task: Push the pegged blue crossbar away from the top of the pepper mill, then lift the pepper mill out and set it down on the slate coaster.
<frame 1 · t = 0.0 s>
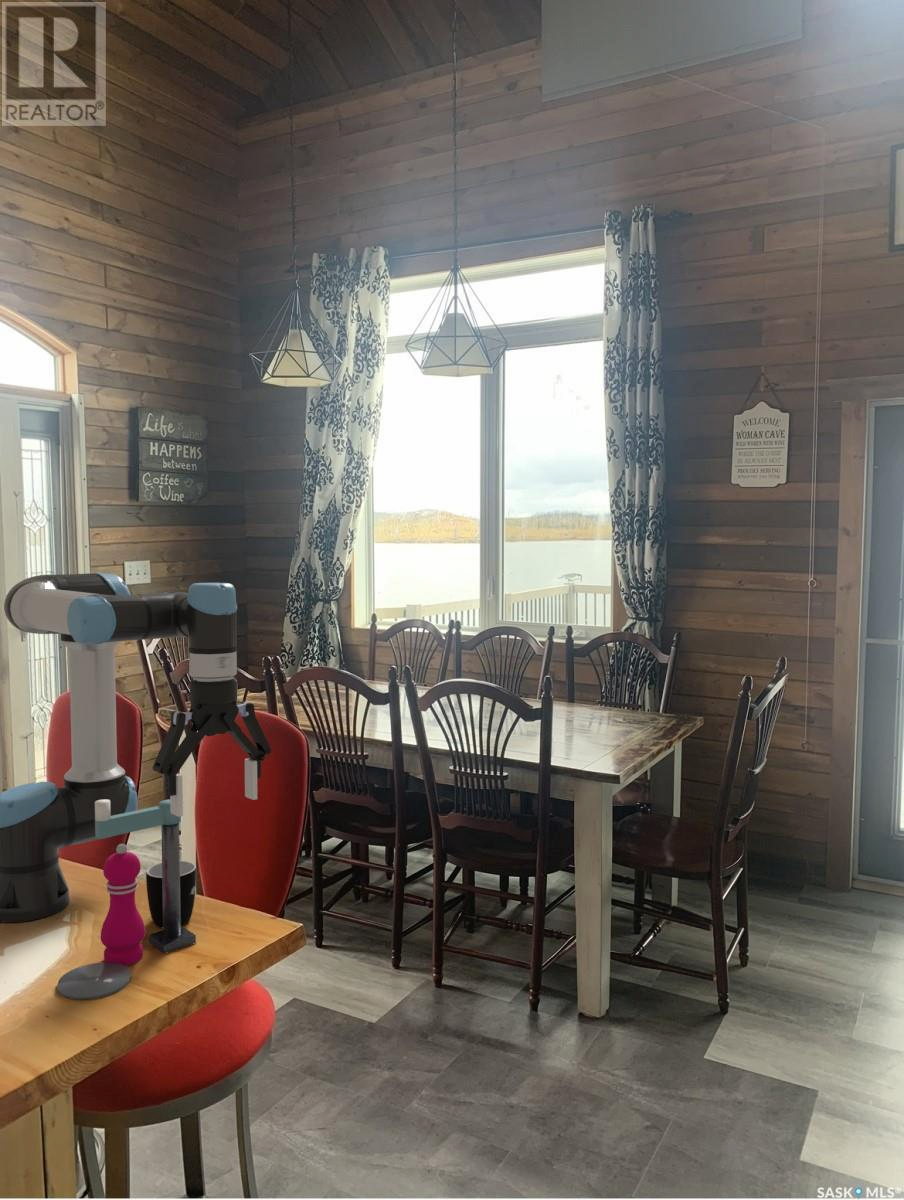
hand: (215, 806, 150), 28 cm above the counter, tool pointing down, fingers open, 13 cm apart
pepper mill: (123, 959, 157), on the counter
slate coaster: (94, 982, 148), on the counter
pegged blue crossbar: (139, 811, 157), point 25 cm above the counter, hinge at 0.0°
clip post: (172, 942, 163), on the counter
mug: (171, 919, 173), on the counter
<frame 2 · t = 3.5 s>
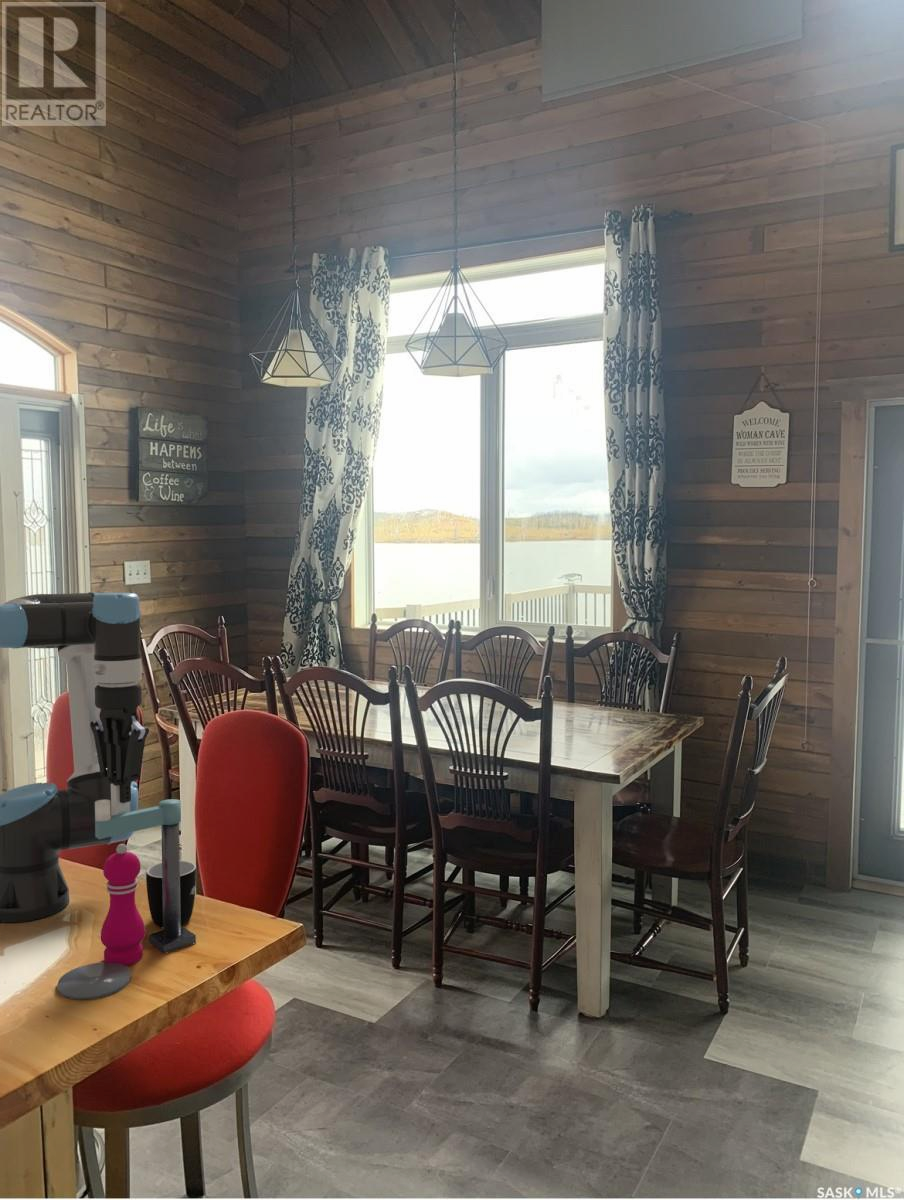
hand: (120, 820, 157), 24 cm above the counter, tool pointing down, fingers closed
pegged blue crossbar: (139, 811, 157), point 25 cm above the counter, hinge at 0.1°, touching gripper
everything else where it was.
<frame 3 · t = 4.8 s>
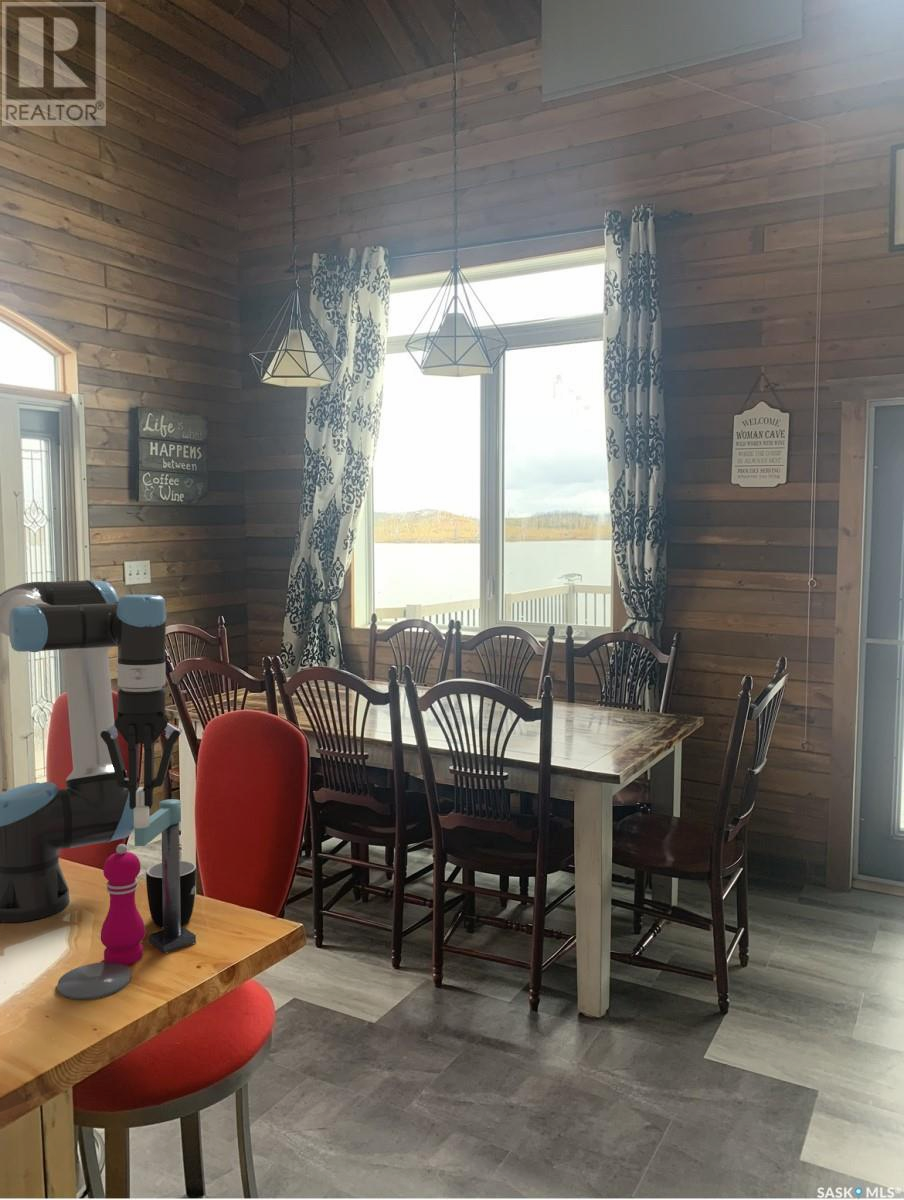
hand: (141, 827, 153), 24 cm above the counter, tool pointing down, fingers closed
pegged blue crossbar: (157, 814, 155), point 25 cm above the counter, hinge at 41.8°, touching gripper
everything else where it was.
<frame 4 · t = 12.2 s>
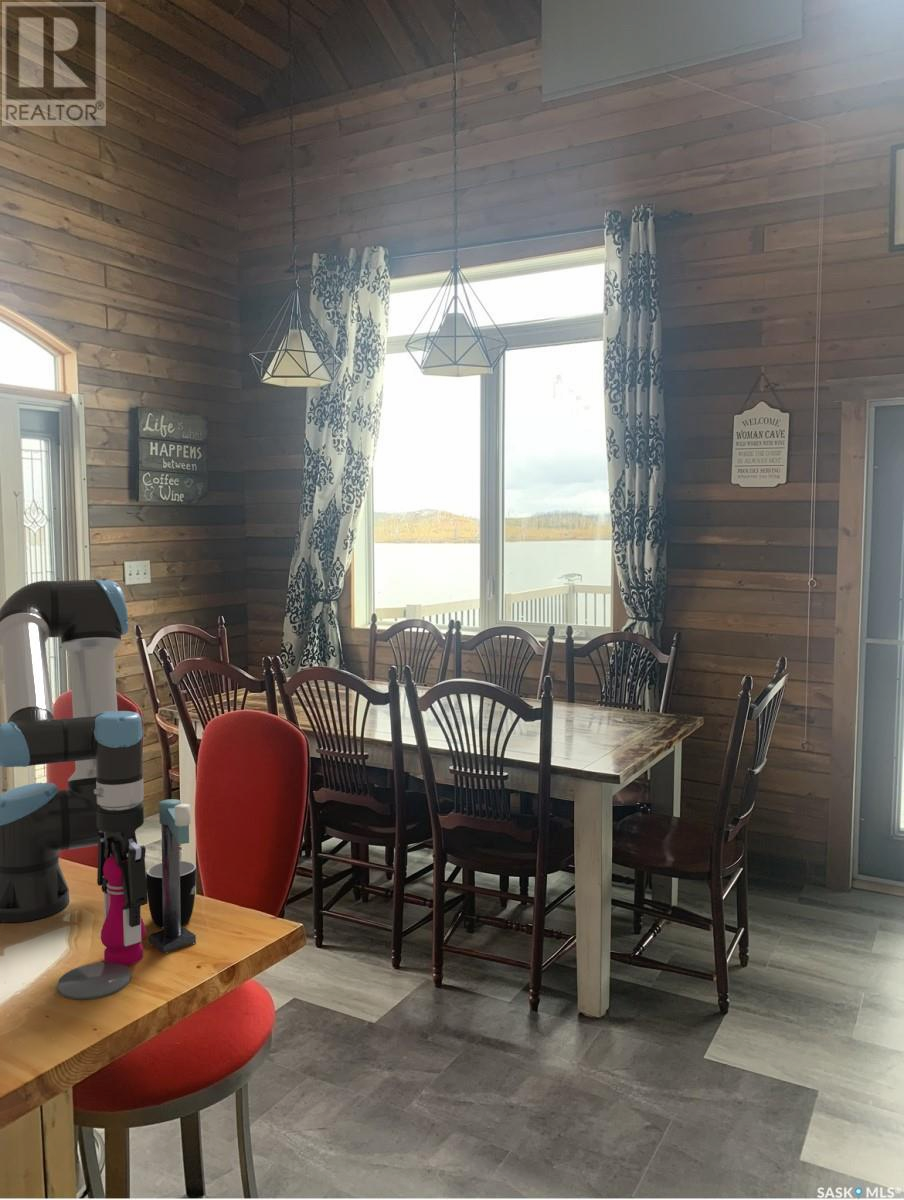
hand: (122, 935, 156), 4 cm above the counter, tool pointing down, fingers closed on pepper mill, 7 cm apart
pepper mill: (123, 959, 157), on the counter, touching gripper
pegged blue crossbar: (175, 813, 156), point 25 cm above the counter, hinge at 72.8°
everything else where it was.
when the fingers open (7 cm above the counter, at t = 17.5 s): pepper mill drops 2 cm, resting on slate coaster.
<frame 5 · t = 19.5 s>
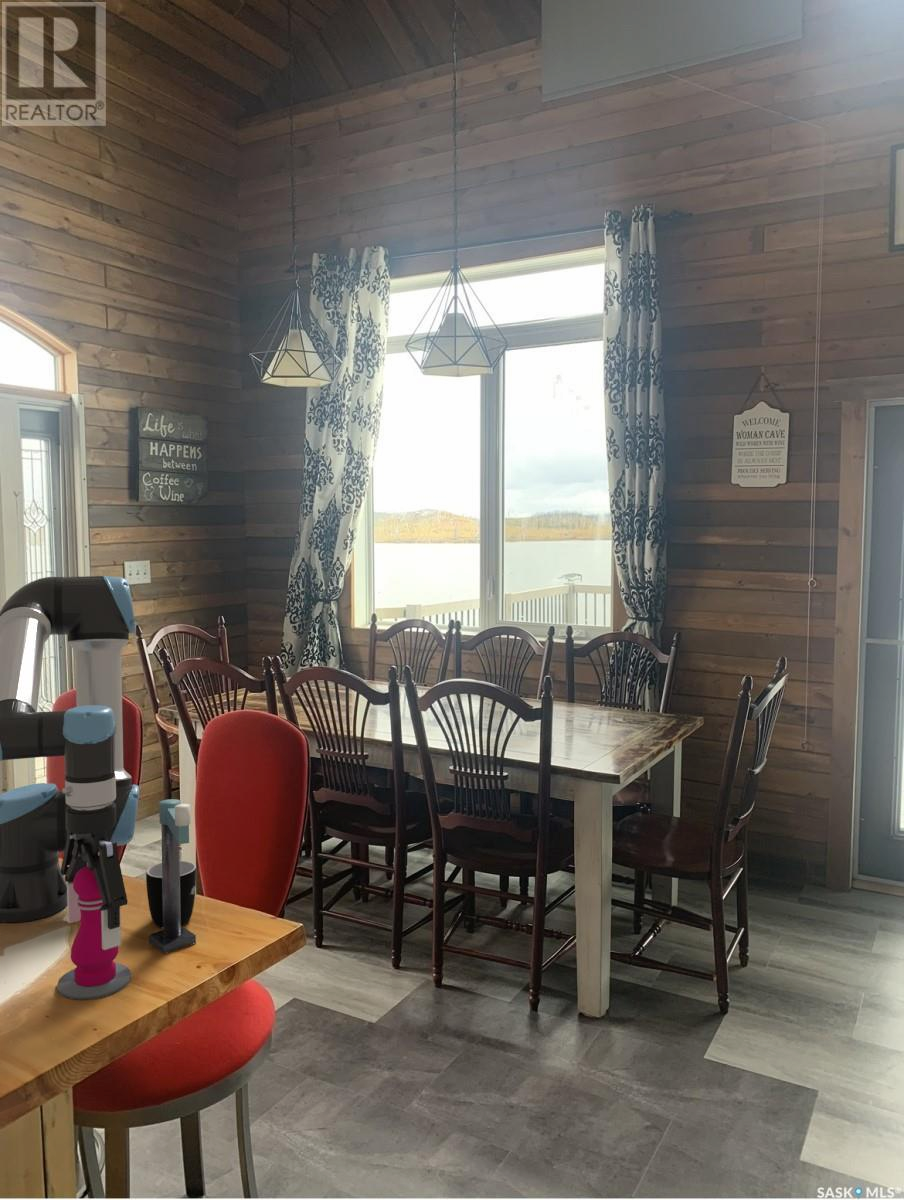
hand: (93, 933, 147), 8 cm above the counter, tool pointing down, fingers open, 13 cm apart
pepper mill: (95, 978, 148), point 1 cm above the counter, touching slate coaster
everything else where it was.
at the end: pegged blue crossbar at +73° (first picture: +0°); pepper mill 0.1 cm off-centre on the slate coaster, point 0.6 cm above the slate coaster's base; pepper mill tilted 0° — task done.
